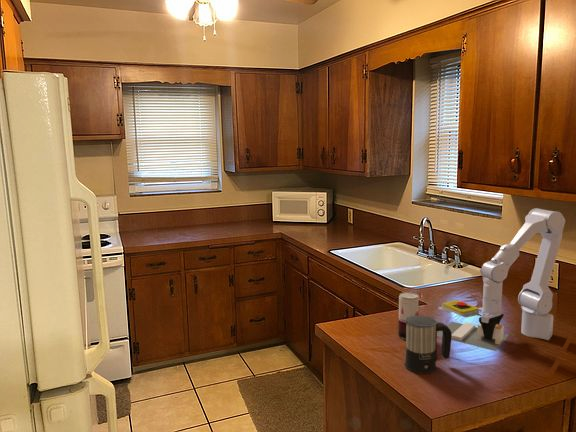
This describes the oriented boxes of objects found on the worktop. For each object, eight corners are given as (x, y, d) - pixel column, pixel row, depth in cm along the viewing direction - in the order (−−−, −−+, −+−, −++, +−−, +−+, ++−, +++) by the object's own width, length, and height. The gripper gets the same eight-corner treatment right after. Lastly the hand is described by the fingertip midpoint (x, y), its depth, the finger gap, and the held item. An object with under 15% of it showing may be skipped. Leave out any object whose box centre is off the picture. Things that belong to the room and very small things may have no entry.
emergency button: (465, 310, 177) (437, 298, 190) (464, 321, 178) (437, 309, 191) (483, 306, 181) (454, 295, 194) (482, 317, 181) (454, 305, 195)
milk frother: (417, 377, 136) (418, 328, 133) (385, 355, 150) (386, 310, 148) (455, 367, 141) (457, 320, 139) (421, 346, 156) (422, 304, 153)
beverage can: (421, 338, 162) (422, 296, 160) (405, 341, 160) (406, 299, 157) (410, 331, 168) (411, 291, 166) (394, 334, 166) (395, 293, 163)
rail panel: (509, 337, 161) (509, 331, 161) (495, 353, 149) (495, 347, 149) (451, 324, 174) (451, 318, 174) (434, 338, 162) (434, 332, 161)
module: (503, 339, 157) (503, 325, 156) (499, 344, 154) (500, 329, 153) (481, 334, 162) (482, 320, 161) (477, 339, 158) (478, 324, 157)
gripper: (486, 290, 163) (484, 327, 166) (472, 301, 152) (470, 340, 154) (508, 293, 159) (506, 331, 161) (495, 305, 148) (493, 346, 150)
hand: (490, 336), depth 157 cm, fingers closed on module, 4 cm apart
